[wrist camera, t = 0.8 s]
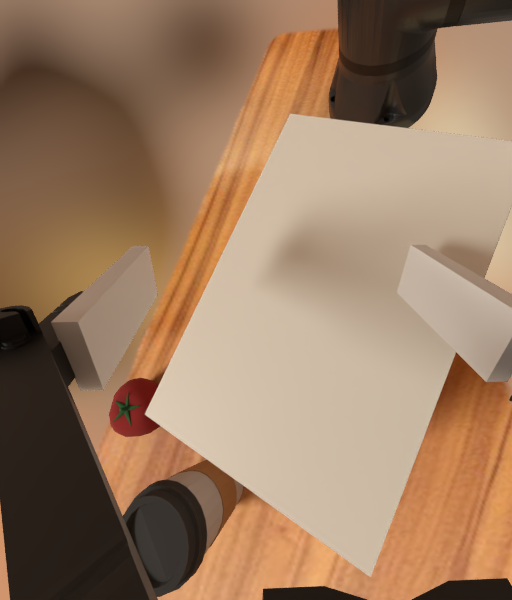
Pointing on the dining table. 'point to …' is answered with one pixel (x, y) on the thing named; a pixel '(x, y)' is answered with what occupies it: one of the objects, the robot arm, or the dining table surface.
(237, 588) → the dining table surface
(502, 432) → the dining table surface
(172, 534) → the coffee cup
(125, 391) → the tomato
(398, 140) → the open box
